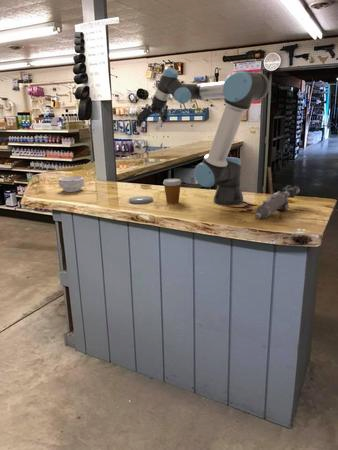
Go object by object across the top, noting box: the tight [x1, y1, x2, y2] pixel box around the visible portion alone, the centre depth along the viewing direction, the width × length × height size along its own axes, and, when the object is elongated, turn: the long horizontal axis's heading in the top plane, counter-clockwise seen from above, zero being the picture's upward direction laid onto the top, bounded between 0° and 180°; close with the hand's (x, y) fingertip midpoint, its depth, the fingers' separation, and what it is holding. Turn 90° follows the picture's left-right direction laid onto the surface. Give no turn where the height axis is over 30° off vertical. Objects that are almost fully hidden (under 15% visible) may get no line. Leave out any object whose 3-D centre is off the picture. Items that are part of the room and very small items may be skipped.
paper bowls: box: [58, 176, 85, 193], centre depth 231 cm, size 15×15×8 cm
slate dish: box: [128, 195, 154, 205], centre depth 199 cm, size 13×13×1 cm
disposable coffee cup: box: [162, 178, 182, 205], centre depth 192 cm, size 10×10×12 cm
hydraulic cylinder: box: [254, 184, 301, 220], centre depth 170 cm, size 7×37×10 cm, turn 138°
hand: (147, 130), depth 207 cm, fingers open, 13 cm apart
